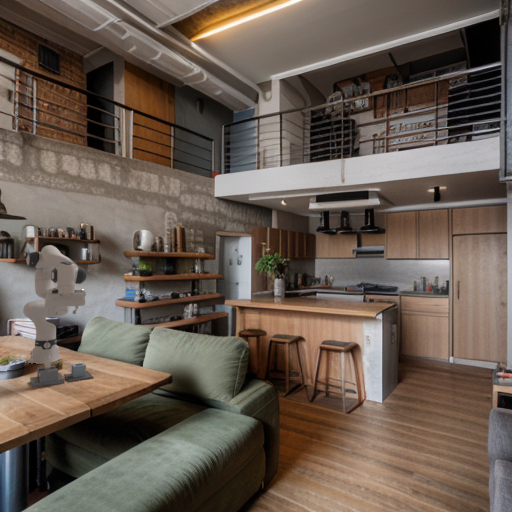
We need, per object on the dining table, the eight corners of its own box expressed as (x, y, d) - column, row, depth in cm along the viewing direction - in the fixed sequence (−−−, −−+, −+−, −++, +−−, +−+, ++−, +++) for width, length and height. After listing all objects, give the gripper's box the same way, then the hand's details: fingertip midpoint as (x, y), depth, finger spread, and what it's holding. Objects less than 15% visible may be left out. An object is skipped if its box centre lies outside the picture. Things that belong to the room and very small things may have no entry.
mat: (63, 375, 196) (64, 374, 196) (87, 372, 203) (87, 370, 203) (68, 382, 185) (68, 380, 185) (93, 378, 192) (93, 376, 192)
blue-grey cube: (71, 375, 195) (71, 364, 195) (83, 373, 198) (83, 362, 199) (73, 377, 190) (73, 366, 190) (85, 375, 194) (85, 365, 194)
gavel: (62, 371, 195) (41, 373, 190) (62, 379, 195) (41, 382, 190) (62, 360, 213) (43, 361, 208) (62, 367, 213) (43, 369, 208)
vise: (30, 381, 186) (31, 355, 186) (60, 376, 194) (60, 352, 195) (32, 388, 175) (33, 360, 176) (64, 382, 184) (65, 356, 185)
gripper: (84, 289, 209) (83, 312, 208) (44, 290, 196) (43, 315, 196) (87, 289, 204) (86, 313, 203) (46, 290, 191) (45, 316, 191)
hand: (65, 314), depth 200 cm, fingers open, 8 cm apart
